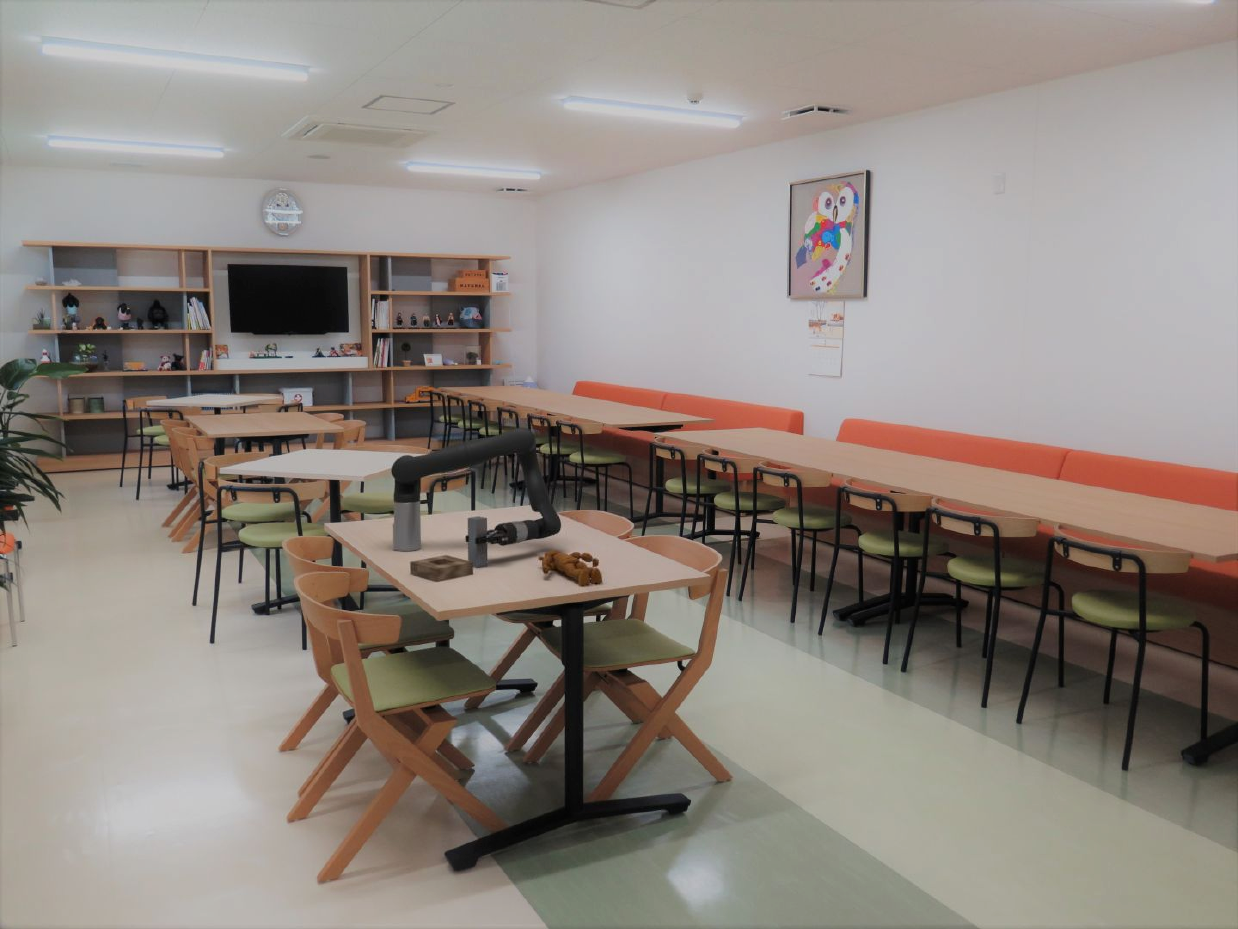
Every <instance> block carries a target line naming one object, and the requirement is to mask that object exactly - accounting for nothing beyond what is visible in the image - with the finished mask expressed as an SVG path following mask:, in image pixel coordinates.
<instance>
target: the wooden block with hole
mask: <svg viewBox="0 0 1238 929" xmlns="http://www.w3.org/2000/svg"><path fill="white" fill-rule="evenodd" d="M409 563H410V566H409V567H410V568H409V569H410V571H409V572H410V575H411V576H415V577H419V578H422V579H426V580H429V581H433V582H436V583H437V582H442V581H448V580H451V579H452V580H453V579H456V578H461V577H462V578H463V577H467V576H471V575H474V567H473V562H471V561H468V559H463V558H459V557H456V556H451V555H447V554H445V555H440V556H435V557H430V558H424V559H423V558H422V559H419V560H412V561H410V562H409Z"/></svg>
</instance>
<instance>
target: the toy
mask: <svg viewBox="0 0 1238 929" xmlns="http://www.w3.org/2000/svg"><path fill="white" fill-rule="evenodd" d="M538 560H539V561H541V568H542V569H541V570H542V572H543V573H542V574H545V575H547V574H548V573H549V572H550V571H557V570H558V571H560V572H562V573H564V574H566V575H567V576H568V577H570V578H573V579H574V580H576V581H578V582H577V583H578V586H579V587H580V586H581V587H584V586H583V585H586V586H587V585H588V586H590V585H592V584H595V583H598V584H599V583H602V584H603V576H602V573H601V571H600V569H599V568H598V566H599V564H600V562H599V561H600V560H599V559H598V558H596V557H593V555H592V554H590V553H587V552H583V553H580V552H578V551H574V552H572V553H570V554H568V553H566V552H565V553H564V552H561V551H560V550H549V551H548V552H547V551H546V552H545V553H544V556H539V557H538ZM580 560H582V561H580ZM585 562H586V563H592V566H588V565H587V564H586V563H585ZM595 585H596V584H595Z"/></svg>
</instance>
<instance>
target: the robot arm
mask: <svg viewBox="0 0 1238 929" xmlns="http://www.w3.org/2000/svg"><path fill="white" fill-rule="evenodd" d="M514 454H515V455H516V457H517V459H518V462H519V465H520V467H521V470H522V474H523V478H524V485H525V488H526V489H525V490H526V493H527V497H528V500H529V503H530V508H531V509H532V511H533V512H535V513H539V514H540V515H541V518H538V519H534V520H533V519H524V520H519V521H518V520H517V521H516V520H515V521H509V522H508V521H507V522H501V523H498V524H497V525H495V527H494V529H492V528H491V529H487V536H482V537H477V538H475V544H483V543H485V542H486V543H487V545H490V544H491V545H495V544H498V545H499V546H501V547H504V546H508V545H515V544H520V543H522V542H526V541H531V540H539V539H540V540H541V539H546V538H549V537H552V536H555V535H558V534H559V533H560V531H561V529H562V522H561V519H560V518H561V517H560V516H559V514H558V513H557V511H556V509H555V507H554V506H553V504H552V503H551V498H550V496H549V492H548V488H547V486H546V483H545V480H544V476H543V473H542V471H541V467H540V465H539V460H538V459H539V458H538V452H537V440H536V436H535V433H533V431H532V430H531V429H530V428H527V427H517V428H515V429H512V430H509V431H506V432H504V433H500V434H496V435H495V436H494V435H493V436H489V437H482V438H476V439H472V440H467V441H461V442H458V443H453V444H451V445H448V446H445V447H443V448H440V449H437V450H435V451H433V452H431V453H427V454H422V455H417V456H413V455H409V454H406V455H402V456H399V457H398V458H397V459H396V460H395V461H394V462H393V464H392V465H391V471H390V472H391V476H392V478H393V480H394V490H393V523H392V550H393V551H398V552H399V551H400V552H413V551H417V550H418V551H419V550H420V549H422V526H421V524H422V522H421V520H422V518H421V493H422V491H421V490H422V479H423V478H426V477H429V476H431V475H436V474H442V473H449V472H454V471H459V470H465V469H469V468H472V467H476V466H479V465H481V464H483V463H486V462H489V461H490V460H493V459H496V458H498V457H501V456H509V455H514ZM464 539H465V542H466V543H468V534H467V535H465V537H464Z"/></svg>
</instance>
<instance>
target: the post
mask: <svg viewBox="0 0 1238 929" xmlns="http://www.w3.org/2000/svg"><path fill="white" fill-rule="evenodd" d="M487 530H488V518H487V517H483V516H480V515H479V516H472V517H468V518H467V535H468V542H467V561H471V562H473V568H476V569H478V568H483V567H487V566H488V561H489V560H488V544H487V543H486V542H485V543H483V544H475V538H477V537H482V536H487Z"/></svg>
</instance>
